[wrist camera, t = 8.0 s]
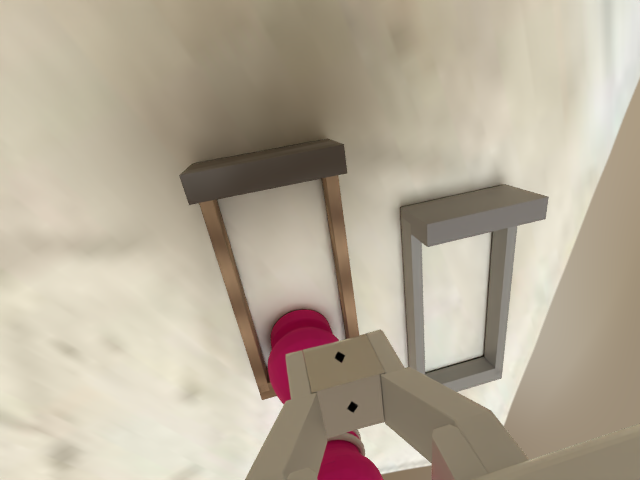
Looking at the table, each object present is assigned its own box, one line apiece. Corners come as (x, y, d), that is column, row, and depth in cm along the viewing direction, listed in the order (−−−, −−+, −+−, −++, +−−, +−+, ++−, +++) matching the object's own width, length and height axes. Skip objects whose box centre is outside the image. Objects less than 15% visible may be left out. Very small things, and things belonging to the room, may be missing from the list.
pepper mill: (311, 291, 32) (391, 535, 13) (346, 336, 35) (451, 585, 16) (251, 330, 32) (251, 620, 14) (291, 372, 35) (334, 655, 17)
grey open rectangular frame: (400, 207, 30) (427, 224, 25) (505, 184, 31) (548, 196, 27) (410, 389, 39) (431, 426, 35) (490, 366, 41) (520, 398, 36)
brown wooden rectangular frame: (192, 163, 25) (179, 175, 20) (327, 138, 26) (343, 144, 22) (261, 384, 34) (263, 426, 30) (358, 358, 36) (373, 394, 31)
